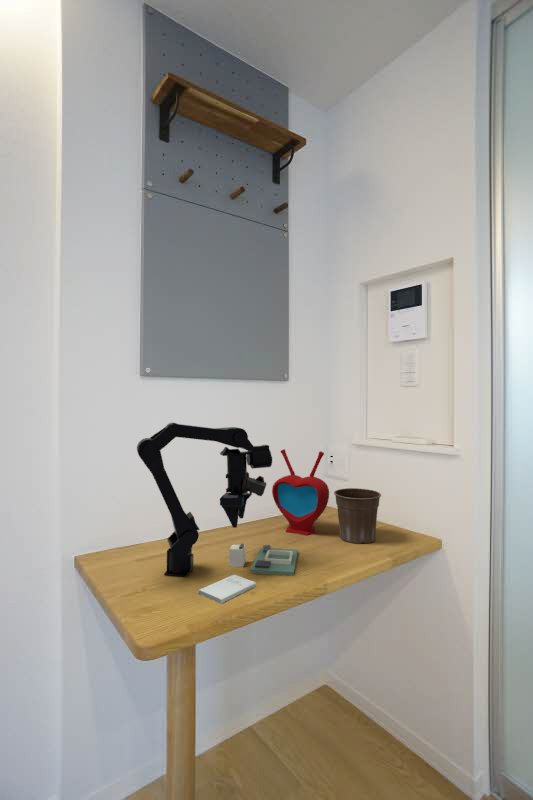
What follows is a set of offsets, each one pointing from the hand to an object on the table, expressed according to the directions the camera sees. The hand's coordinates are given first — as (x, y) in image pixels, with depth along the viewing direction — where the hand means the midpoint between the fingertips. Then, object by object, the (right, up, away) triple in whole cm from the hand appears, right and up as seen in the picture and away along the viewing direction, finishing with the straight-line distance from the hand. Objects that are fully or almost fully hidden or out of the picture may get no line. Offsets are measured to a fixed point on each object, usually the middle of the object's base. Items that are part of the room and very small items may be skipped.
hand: (238, 522), depth 121 cm
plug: (0, -12, 0) cm, 12 cm away
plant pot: (+40, -13, +24) cm, 49 cm away
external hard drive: (-2, -13, -17) cm, 21 cm away
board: (+11, -12, +1) cm, 17 cm away
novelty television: (+22, -13, +33) cm, 42 cm away
